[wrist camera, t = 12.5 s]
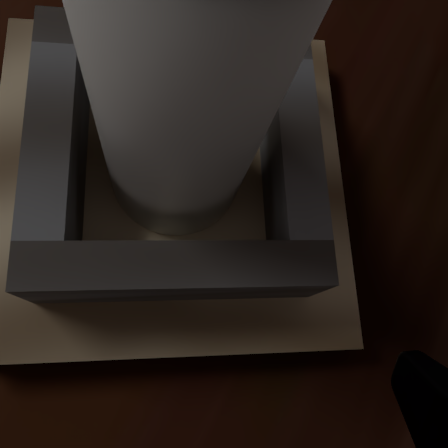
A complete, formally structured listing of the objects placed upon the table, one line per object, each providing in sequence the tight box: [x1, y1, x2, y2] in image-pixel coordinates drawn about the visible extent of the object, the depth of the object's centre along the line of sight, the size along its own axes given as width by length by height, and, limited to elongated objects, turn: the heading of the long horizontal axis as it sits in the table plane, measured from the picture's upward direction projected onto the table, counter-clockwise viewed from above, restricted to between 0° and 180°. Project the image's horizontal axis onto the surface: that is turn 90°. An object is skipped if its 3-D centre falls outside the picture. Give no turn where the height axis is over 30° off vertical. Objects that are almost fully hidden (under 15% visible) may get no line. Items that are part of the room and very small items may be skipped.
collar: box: [0, 6, 364, 365], centre depth 16 cm, size 14×14×4 cm
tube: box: [62, 0, 332, 236], centre depth 11 cm, size 5×5×13 cm
